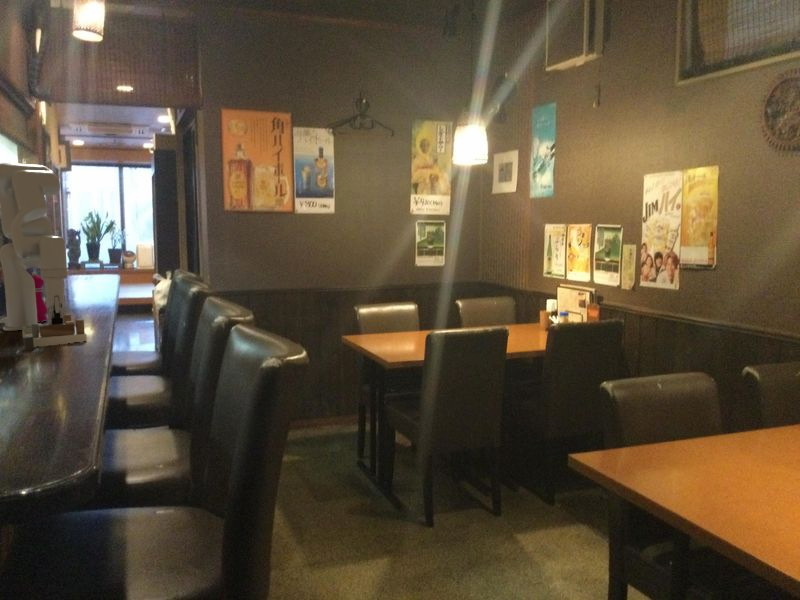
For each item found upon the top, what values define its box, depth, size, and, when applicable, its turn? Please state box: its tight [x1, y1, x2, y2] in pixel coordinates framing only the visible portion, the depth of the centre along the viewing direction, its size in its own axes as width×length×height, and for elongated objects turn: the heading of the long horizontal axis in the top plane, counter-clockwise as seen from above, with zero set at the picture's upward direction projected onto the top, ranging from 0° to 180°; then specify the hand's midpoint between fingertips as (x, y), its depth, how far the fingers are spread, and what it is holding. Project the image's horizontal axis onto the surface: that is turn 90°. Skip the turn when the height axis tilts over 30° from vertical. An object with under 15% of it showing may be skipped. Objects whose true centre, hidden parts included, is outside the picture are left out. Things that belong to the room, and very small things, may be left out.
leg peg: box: [47, 310, 52, 325], centre depth 224 cm, size 4×4×8 cm
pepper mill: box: [31, 271, 48, 321], centre depth 253 cm, size 7×7×20 cm
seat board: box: [21, 314, 87, 352], centre depth 208 cm, size 28×18×7 cm, turn 36°
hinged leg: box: [40, 320, 76, 337], centre depth 205 cm, size 2×10×4 cm, turn 125°
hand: (57, 329), depth 211 cm, fingers closed
